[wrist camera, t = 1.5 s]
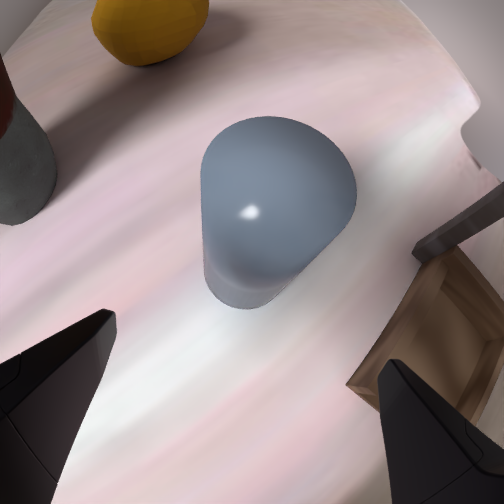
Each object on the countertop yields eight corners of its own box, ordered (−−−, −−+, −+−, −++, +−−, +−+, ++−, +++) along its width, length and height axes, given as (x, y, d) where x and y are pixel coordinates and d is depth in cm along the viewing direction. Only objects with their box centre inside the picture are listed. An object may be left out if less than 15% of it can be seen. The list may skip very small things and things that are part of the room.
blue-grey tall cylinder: (292, 301, 23) (376, 239, 11) (210, 315, 22) (212, 262, 10) (275, 226, 24) (330, 116, 13) (198, 236, 23) (193, 121, 12)
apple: (226, 46, 32) (236, -32, 21) (154, 100, 27) (144, 4, 17) (152, 23, 33) (149, -44, 22) (81, 70, 28) (61, -5, 18)
